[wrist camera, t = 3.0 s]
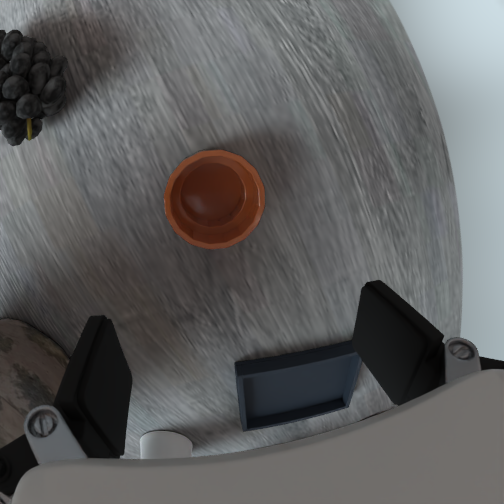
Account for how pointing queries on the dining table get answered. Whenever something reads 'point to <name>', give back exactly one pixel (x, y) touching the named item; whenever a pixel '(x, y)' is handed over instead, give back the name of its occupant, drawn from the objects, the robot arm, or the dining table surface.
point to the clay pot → (26, 374)
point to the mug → (165, 445)
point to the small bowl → (214, 199)
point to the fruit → (28, 86)
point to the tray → (296, 385)
